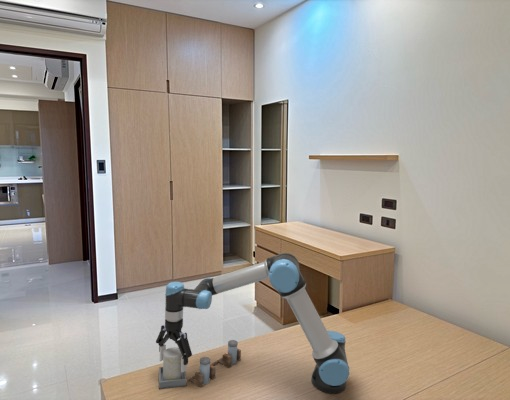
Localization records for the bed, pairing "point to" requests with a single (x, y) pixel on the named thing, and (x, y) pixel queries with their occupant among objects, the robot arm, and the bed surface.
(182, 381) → the tray
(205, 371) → the grey rounded cylinder
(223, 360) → the clip rack
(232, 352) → the fuse
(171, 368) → the light grey canister
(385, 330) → the bed surface
